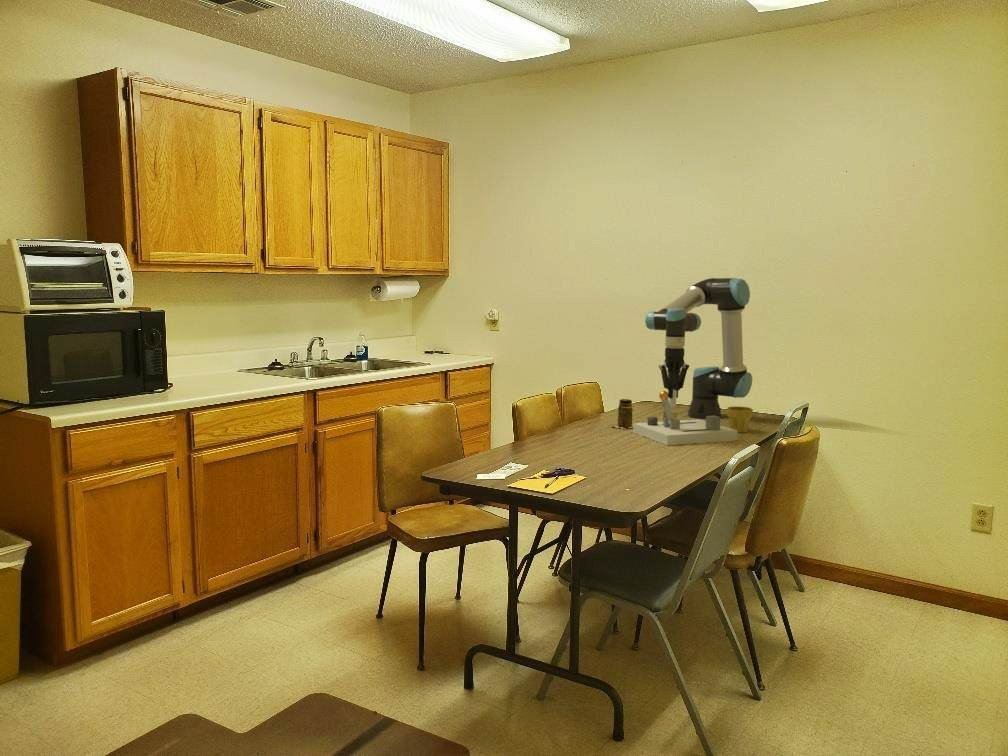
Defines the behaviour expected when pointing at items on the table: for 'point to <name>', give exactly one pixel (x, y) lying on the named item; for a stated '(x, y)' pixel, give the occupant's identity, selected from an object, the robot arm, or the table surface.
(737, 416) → the plant pot
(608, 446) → the table surface
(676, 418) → the brass slider
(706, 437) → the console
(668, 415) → the toggle lever
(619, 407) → the condiment
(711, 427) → the grey slider
